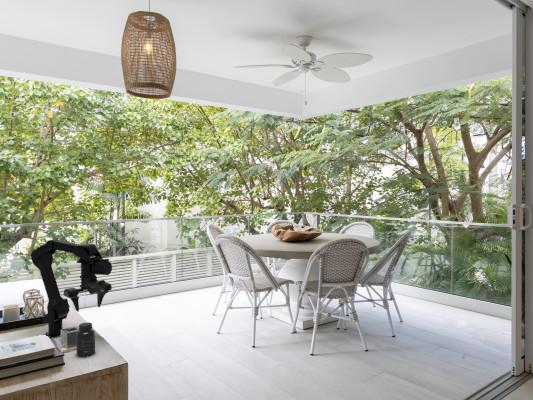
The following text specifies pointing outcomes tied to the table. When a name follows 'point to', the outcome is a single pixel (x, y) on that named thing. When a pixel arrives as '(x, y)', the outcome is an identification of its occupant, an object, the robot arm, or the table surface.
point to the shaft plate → (66, 349)
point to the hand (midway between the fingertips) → (88, 309)
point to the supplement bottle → (85, 340)
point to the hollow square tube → (69, 337)
